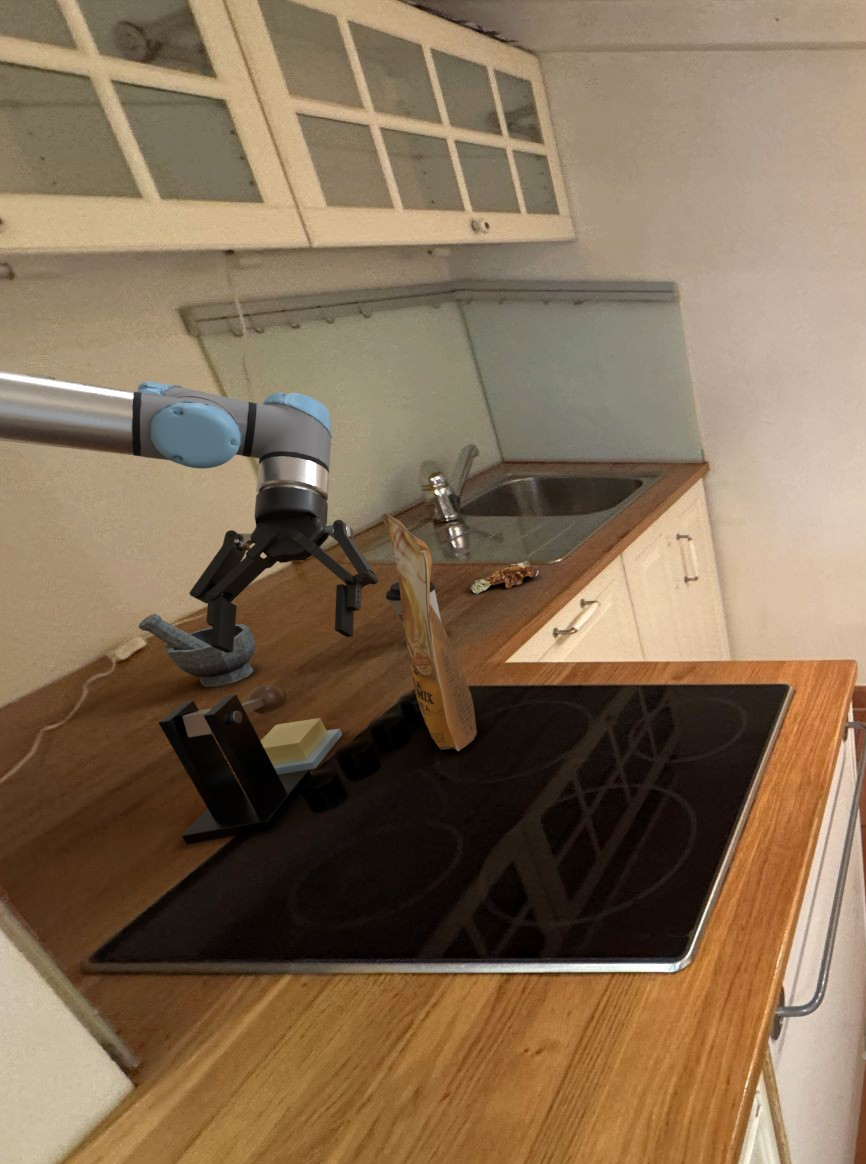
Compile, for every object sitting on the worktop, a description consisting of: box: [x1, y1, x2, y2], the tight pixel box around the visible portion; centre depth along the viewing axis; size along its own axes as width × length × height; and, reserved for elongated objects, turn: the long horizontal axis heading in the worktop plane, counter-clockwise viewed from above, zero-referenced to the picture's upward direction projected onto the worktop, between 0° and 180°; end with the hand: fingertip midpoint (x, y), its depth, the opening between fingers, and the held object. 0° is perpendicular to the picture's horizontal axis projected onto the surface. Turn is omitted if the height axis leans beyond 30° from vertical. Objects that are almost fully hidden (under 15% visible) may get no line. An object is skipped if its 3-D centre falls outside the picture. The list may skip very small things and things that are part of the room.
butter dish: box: [260, 717, 343, 775], centre depth 98 cm, size 7×8×4 cm
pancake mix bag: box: [380, 512, 478, 752], centre depth 99 cm, size 7×19×28 cm, turn 38°
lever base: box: [158, 694, 313, 845], centre depth 86 cm, size 10×8×14 cm
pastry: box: [469, 560, 540, 595], centre depth 150 cm, size 7×12×4 cm, turn 138°
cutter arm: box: [182, 684, 288, 737], centre depth 89 cm, size 14×4×4 cm, turn 15°
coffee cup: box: [385, 581, 442, 628], centre depth 127 cm, size 7×7×10 cm
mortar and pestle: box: [137, 613, 256, 688], centre depth 116 cm, size 11×9×12 cm
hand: (283, 641), depth 99 cm, fingers open, 13 cm apart
